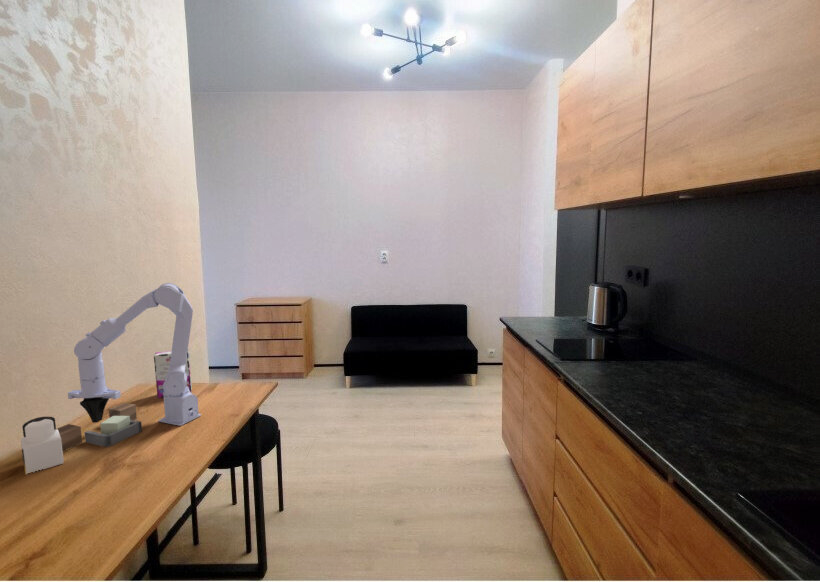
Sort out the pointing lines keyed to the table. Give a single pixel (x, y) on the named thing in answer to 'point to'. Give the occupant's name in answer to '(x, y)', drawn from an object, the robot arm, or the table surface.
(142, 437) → the table surface
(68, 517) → the table surface
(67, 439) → the walnut block
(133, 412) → the walnut block
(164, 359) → the candy bar box
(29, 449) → the white handled block
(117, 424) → the sage block
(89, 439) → the corral
